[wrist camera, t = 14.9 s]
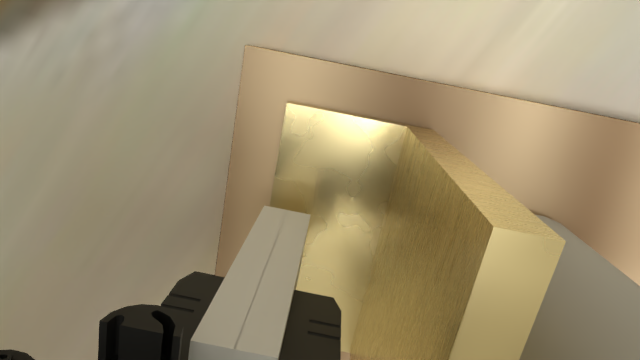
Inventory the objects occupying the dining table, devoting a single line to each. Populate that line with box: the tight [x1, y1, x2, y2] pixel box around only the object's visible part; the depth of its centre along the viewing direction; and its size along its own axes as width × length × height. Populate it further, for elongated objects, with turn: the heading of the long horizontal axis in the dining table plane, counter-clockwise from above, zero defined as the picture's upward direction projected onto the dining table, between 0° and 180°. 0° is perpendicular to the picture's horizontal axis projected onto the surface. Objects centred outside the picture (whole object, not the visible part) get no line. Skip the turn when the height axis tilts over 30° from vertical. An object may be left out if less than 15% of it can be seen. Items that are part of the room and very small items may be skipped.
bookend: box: [270, 101, 566, 360], centre depth 11 cm, size 5×9×9 cm, turn 169°
